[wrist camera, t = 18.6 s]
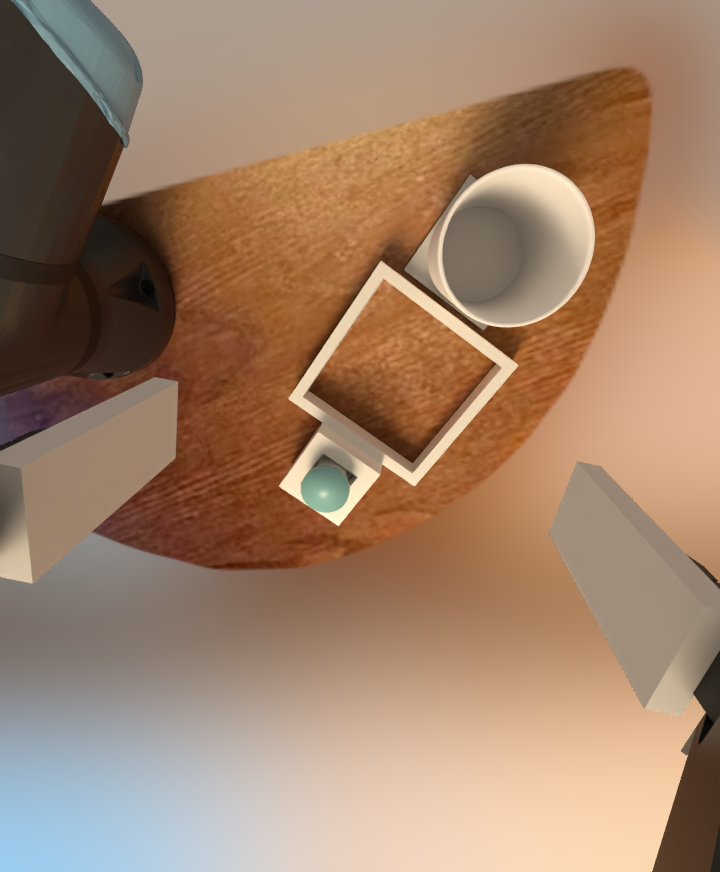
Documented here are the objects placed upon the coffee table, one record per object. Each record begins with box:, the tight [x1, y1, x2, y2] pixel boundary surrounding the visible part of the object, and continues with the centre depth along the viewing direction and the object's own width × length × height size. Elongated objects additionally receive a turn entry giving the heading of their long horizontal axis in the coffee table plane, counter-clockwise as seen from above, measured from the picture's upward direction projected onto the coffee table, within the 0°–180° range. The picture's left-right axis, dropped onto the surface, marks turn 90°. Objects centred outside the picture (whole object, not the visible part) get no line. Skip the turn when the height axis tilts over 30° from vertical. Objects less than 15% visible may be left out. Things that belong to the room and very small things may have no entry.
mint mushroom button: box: [301, 456, 350, 513], centre depth 44 cm, size 4×4×5 cm
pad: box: [404, 174, 488, 331], centre depth 40 cm, size 9×9×1 cm
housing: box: [279, 261, 518, 526], centre depth 43 cm, size 15×22×5 cm
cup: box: [427, 164, 595, 327], centre depth 32 cm, size 8×8×16 cm
